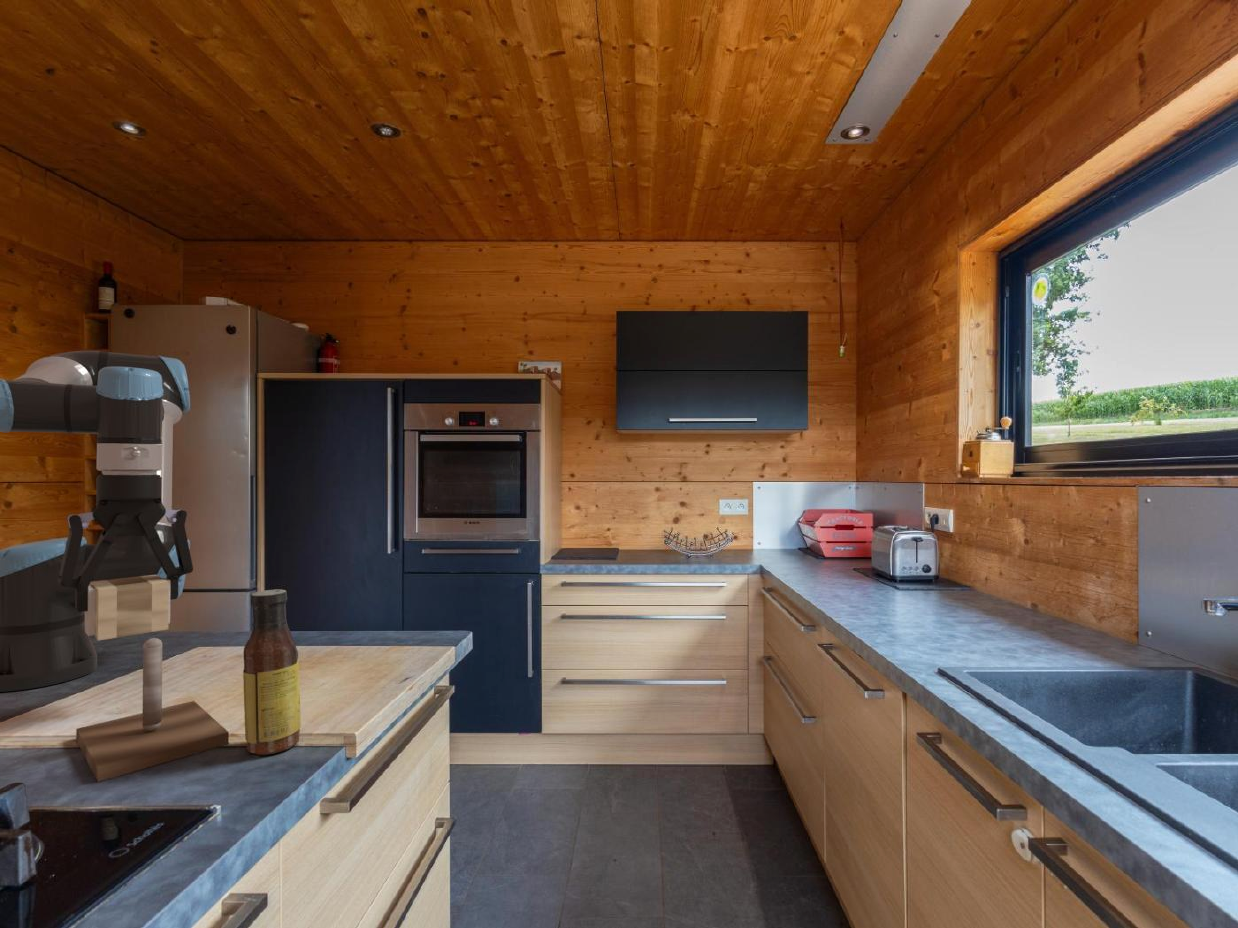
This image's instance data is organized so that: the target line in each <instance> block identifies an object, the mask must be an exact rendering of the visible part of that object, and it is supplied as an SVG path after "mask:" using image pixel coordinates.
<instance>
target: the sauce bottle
mask: <svg viewBox="0 0 1238 928" xmlns="http://www.w3.org/2000/svg"><path fill="white" fill-rule="evenodd" d="M287 601H288V592H287V590H285V589H276V588H275V589H268V590H267V589H266V590H259V591H256V592H253V593H251V595H250V605H251V607H252V618H253V620H252V631H251V634H250V636H249V638H248V640H247V642H246V644H245V646H244V648H243V670H242V671H243V672H242V673H243V674H242V675H243V676H242V677H243V702H244V703H243V705H244V706H243V708H244V709H243V710H244V731H245V732H244V733H245V736H244V737H245V739H244V740H245V741H246V750H247V752H248V753H250V754H254V755H258V756H264V755H265V756H266V755H267V756H268V755H273V754H277V753H278V754H279V753H281V752H285V751H287V750H289V749H290V748H292V747H294V746H295V745H297V744H298V742H300V731H301V727H302V725H301V724H302V722H301V721H302V720H301V718H302V716H301V715H302V714H301V713H302V712H301V692H300V691H301V690H300V687H301V686H300V684H301V683H300V665H299V663H300V661H299V651H298V648H297V646H296V643H295V641H294V639H293V635H292V632H291V629H290V628H289V624H288V622H287V621H288V620H287V605H286V604H287Z"/></svg>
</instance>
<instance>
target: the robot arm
mask: <svg viewBox="0 0 1238 928" xmlns="http://www.w3.org/2000/svg"><path fill="white" fill-rule="evenodd" d="M189 389H190V388H189V379H188V375H187V370H186V366H185V364H184V363H183V362H182V361H181V360H180V359H178V358H174V357H167V356H162V355H155V356H153V355H151V356H150V355H141V354H132V353H123V352H121V353H120V352H111V351H110V352H109V351H101V350H77V351H75V350H74V351H68V352H67V351H66V352H61V353H55V354H51V355H47V356H45V357H42V358H39V359H38V360H35V361H34V362H33V363H31V364H30V365H29V366H28V368H27V369H26V371H25V373H24V374H22V375H20V376H19V377H17V378H15V379H13V380H10V379H3V378H0V432H1V433H10V432H14V433H18V432H19V433H61V434H63V433H64V434H65V433H66V434H85V435H86V434H87V435H89V434H91V435H92V434H93V435H97V440H96V470H97V471H99V472H101V474H99V475H98V476H97V477H96V482H95V484H96V485H95V486H96V493H95V495H96V496H95V497H96V502H95V506H94V507H93V509H92V510H91V511H89V512H84V513H78V514H75V513H71V514H68V515H67V517H66V522H67V526H68V528H69V529H68V530H69V531H68V536H67V537H60V538H53V539H46V540H40V541H34V542H27V543H23V544H22V543H21V544H17V545H16V544H15V545H12V546H8V547H6V548H3V549H0V692H2V693H3V692H4V693H5V692H14V691H24V690H31V689H38V688H42V687H47V686H48V687H49V686H51V685H56V684H61V683H64V682H69V681H71V680H75V679H79V678H81V677H84V676H86V675H89V674H90V673H93V672H94V671H96V670H97V669H98V654H97V651H96V649H95V647H94V644H93V642H92V639H91V637H90V636H94V635H95V588H94V587H93V586H89V584H90V582H92V581H102V580H111V579H120V578H130V577H139V576H149V575H157V576H159V577H161V578H163V579H164V580H166V581H168V582H169V621H168V624H170V623H171V602H173V601H176V600H178V599H179V598H180V596H181V595H182V593H183V590H184V586H185V583H186V582H185V580H186V575H187V574H190V573H192V572H193V571H194V567H193V561H192V556H191V551H190V549H191V542H190V539H188V535H187V533H186V532H187V531H186V526H185V525H186V520H187V515H188V513H187V511H186V510H184V509H173V453H174V450H173V449H174V448H173V444H174V443H173V441H174V438H173V437H174V425H175V424H177V423H179V422H180V420H181V419H182V417H183V414H185V413H189V412H190V410H191V395H190V390H189ZM93 520H94V521H95V523H97V524H98V525H99V526H100V527H101V528H102V531H101V533H100V534H99V535H100V536H98V540H97V542H96V543H92V544H87V543H88V542H87V540H86V538H85V536H84V529H85V530H86V529H87V528H88V527H89V525H90V522H91V521H93Z"/></svg>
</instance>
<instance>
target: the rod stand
mask: <svg viewBox="0 0 1238 928" xmlns="http://www.w3.org/2000/svg"><path fill="white" fill-rule="evenodd" d="M75 731H76V732H75V733H76V736H75V737H76V738H75V739H77V741H76V742H77V744H78V747H79V748H80V750H81V752H82V754H83V756H84V758H85V760H86V762H87V764H88V766H89V768H90V769H91V771H92V774H93V776H94V778H95V780H97V783H100V782H103V781H106V780H109V779H113V778H117V777H119V776H122V775H127V774H130V773H133V772H137V771H141V770H143V769H148V768H150V767H153V766H157V765H160V764H161V765H162V764H163V763H164V764H165V763H167V762H171V761H174V760H177V759H181V758H185V757H188V756H191V755H195V754H197V753H203V752H205V751H209V750H212V749H215V748H219V747H222V746H226V745H229V735H230V734H229V733H230V732H229V730H227V729H226V728H225V727H224V726H223V725H222V724H220V723H219V722H218V721H216V719H215V718H214V717H212V715H210V714H209V713H208V712H207V711H206V710H205V709H204V708H202V707H201V706H200V705H199V704H198V703H197V702H196V701H195V700H191V701H188V702H187V701H186V702H183V703H179V704H174V705H170V706H166V707H163V642H162V640H161V639H160V638H155V637H151V638H149V639H147V640H146V641H145V642H144V643H143V646H142V713H137V714H133V715H128V716H125V717H120V718H115V719H112V720H107V721H102V722H99V723H94V724H90V725H87V726H82V727H78V728H76V730H75Z"/></svg>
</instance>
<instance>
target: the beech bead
mask: <svg viewBox="0 0 1238 928" xmlns="http://www.w3.org/2000/svg"><path fill="white" fill-rule="evenodd" d="M89 586H93V587H94V588H95V635H93V637H94V638H95V639H96V640H97V641H103V640H104V641H105V640H111V639H117V638H122V637H129V636H134V635H140V634H141V635H142V634H147V633H153V632H160V631H165V630H166V631H167V630H169V623H168V621H169V582H168V581H166V580H164V579H163V578H161V577H159V576H157V575H149V576H139V577H130V578H120V579H111V580H102V581H92V582H90V584H89Z"/></svg>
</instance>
